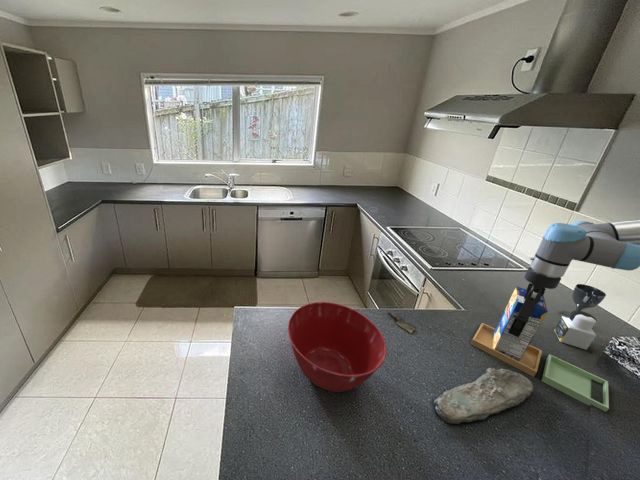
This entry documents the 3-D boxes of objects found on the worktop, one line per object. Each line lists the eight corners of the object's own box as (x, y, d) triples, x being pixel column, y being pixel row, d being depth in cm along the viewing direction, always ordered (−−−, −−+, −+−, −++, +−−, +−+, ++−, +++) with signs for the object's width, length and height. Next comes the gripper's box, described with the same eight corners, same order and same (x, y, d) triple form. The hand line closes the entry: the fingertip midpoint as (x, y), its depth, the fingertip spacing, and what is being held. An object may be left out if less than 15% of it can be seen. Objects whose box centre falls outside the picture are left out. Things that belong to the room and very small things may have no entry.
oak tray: (539, 355, 97) (542, 350, 96) (533, 377, 89) (536, 371, 88) (480, 327, 109) (482, 322, 108) (470, 344, 101) (472, 339, 100)
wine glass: (590, 324, 113) (610, 294, 107) (580, 329, 110) (600, 298, 104) (564, 311, 120) (582, 282, 114) (554, 315, 117) (571, 286, 111)
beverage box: (492, 352, 97) (518, 301, 88) (492, 334, 105) (516, 286, 96) (518, 363, 93) (547, 311, 84) (516, 344, 101) (543, 294, 92)
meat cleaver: (406, 334, 104) (417, 332, 106) (407, 332, 104) (418, 330, 105) (385, 313, 114) (394, 311, 116) (385, 310, 114) (395, 309, 115)
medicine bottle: (553, 330, 109) (567, 305, 104) (578, 337, 106) (594, 312, 101) (559, 342, 103) (575, 316, 99) (586, 350, 100) (604, 324, 95)
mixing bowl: (382, 357, 94) (392, 322, 88) (365, 436, 71) (378, 395, 65) (303, 324, 107) (307, 291, 101) (268, 382, 84) (271, 344, 78)
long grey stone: (421, 402, 81) (452, 439, 73) (426, 390, 79) (459, 427, 71) (505, 368, 91) (541, 397, 83) (512, 357, 89) (549, 386, 80)
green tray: (604, 386, 87) (608, 381, 86) (604, 414, 79) (609, 408, 78) (546, 359, 96) (549, 354, 95) (541, 381, 88) (544, 375, 87)
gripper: (534, 255, 96) (510, 304, 105) (522, 280, 81) (495, 336, 90) (565, 264, 91) (537, 315, 100) (558, 293, 76) (525, 350, 84)
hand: (517, 325), depth 95 cm, fingers open, 13 cm apart
